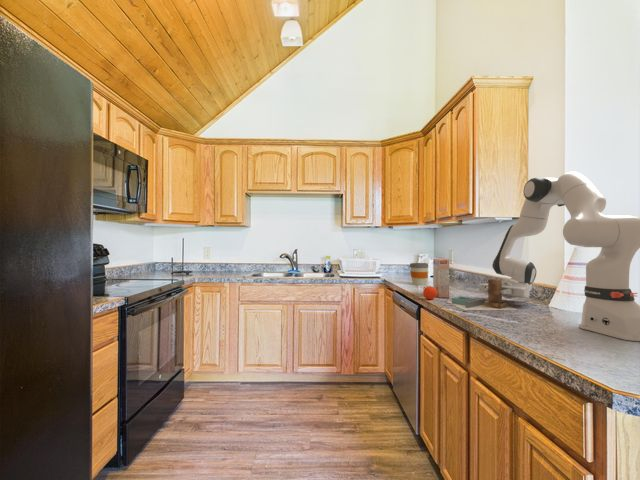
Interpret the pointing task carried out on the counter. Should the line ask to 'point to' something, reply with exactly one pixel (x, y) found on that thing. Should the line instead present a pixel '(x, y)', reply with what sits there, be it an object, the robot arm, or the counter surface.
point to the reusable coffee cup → (419, 273)
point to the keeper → (496, 305)
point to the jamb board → (478, 305)
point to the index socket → (461, 300)
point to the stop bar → (494, 291)
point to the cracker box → (441, 277)
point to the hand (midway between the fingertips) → (494, 291)
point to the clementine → (430, 292)
